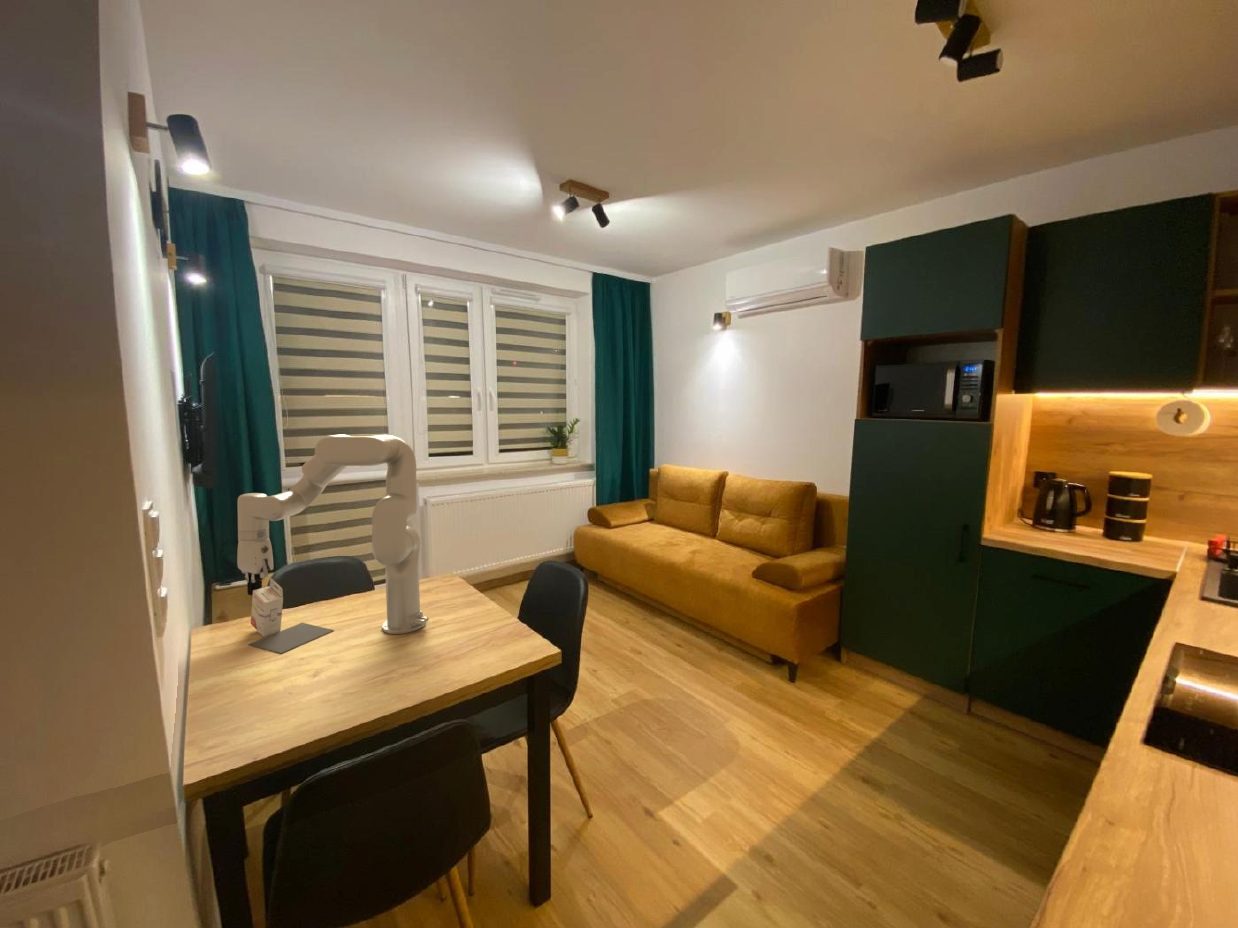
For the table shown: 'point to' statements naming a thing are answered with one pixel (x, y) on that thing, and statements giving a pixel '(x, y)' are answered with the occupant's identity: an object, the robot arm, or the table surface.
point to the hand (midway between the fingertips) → (254, 593)
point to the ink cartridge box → (267, 609)
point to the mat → (291, 638)
